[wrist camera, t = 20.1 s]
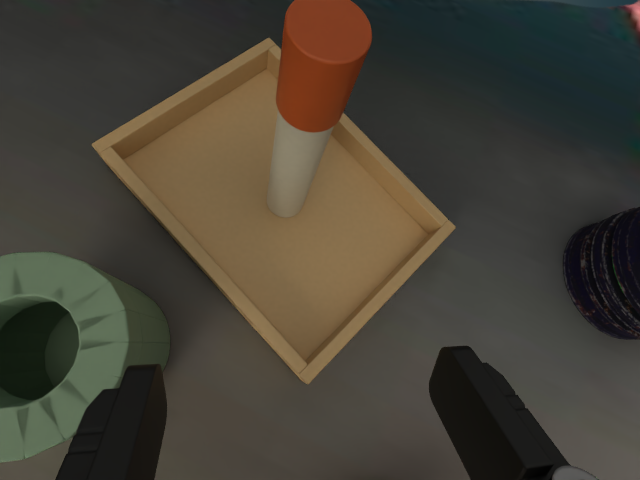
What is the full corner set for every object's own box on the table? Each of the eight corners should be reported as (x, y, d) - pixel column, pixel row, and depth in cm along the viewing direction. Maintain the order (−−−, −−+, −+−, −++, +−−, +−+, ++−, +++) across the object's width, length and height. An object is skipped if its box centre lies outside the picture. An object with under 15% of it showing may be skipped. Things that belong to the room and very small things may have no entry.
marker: (255, 198, 26) (265, 14, 11) (286, 174, 26) (330, -23, 12) (283, 228, 25) (329, 78, 11) (313, 203, 26) (390, 36, 12)
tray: (106, 163, 25) (90, 143, 22) (267, 62, 30) (268, 36, 27) (301, 381, 23) (307, 384, 21) (438, 237, 28) (456, 227, 26)
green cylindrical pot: (-1, 347, 21) (-156, 347, 13) (119, 260, 23) (51, 214, 15) (84, 450, 20) (-23, 517, 12) (197, 348, 23) (169, 350, 15)
